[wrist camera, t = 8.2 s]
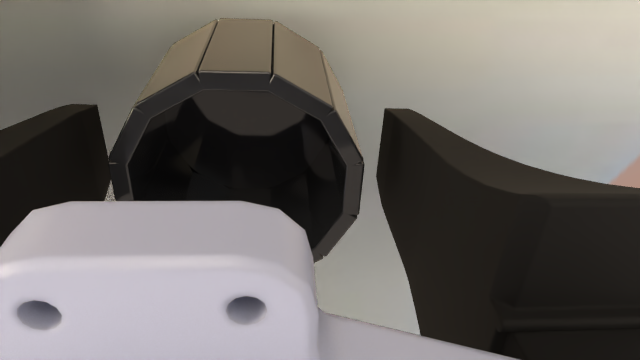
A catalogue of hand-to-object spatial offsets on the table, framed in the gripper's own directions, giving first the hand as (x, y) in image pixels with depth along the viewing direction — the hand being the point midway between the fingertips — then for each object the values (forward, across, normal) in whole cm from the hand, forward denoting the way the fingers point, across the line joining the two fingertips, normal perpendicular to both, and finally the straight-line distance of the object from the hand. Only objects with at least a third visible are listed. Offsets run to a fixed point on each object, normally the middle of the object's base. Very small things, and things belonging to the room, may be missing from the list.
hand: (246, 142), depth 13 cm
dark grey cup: (+2, 0, 0) cm, 2 cm away
